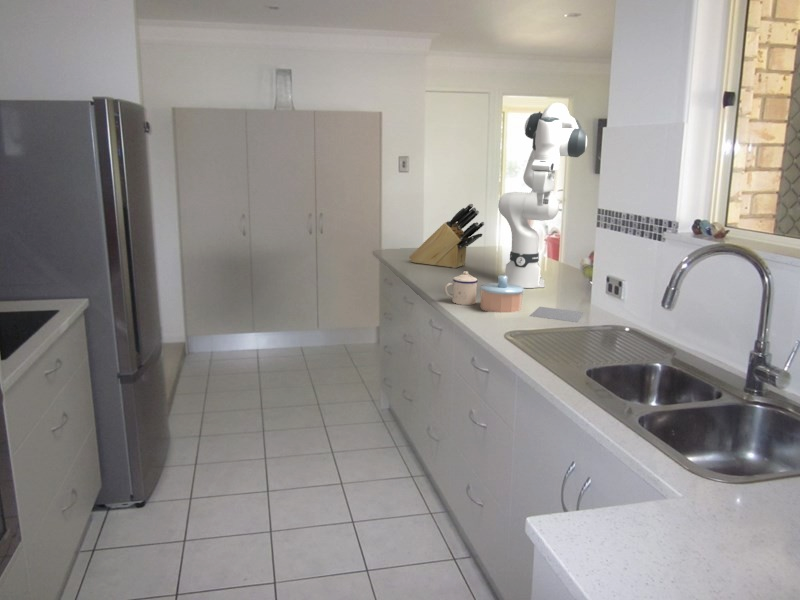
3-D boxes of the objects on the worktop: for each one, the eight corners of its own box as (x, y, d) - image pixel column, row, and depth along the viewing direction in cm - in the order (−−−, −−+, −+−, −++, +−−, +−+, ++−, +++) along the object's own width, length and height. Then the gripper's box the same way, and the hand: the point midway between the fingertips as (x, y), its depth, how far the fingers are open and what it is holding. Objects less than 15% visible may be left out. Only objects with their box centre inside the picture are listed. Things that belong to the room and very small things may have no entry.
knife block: (474, 271, 306) (478, 205, 300) (408, 263, 323) (410, 200, 316) (483, 267, 316) (487, 204, 309) (418, 260, 332) (421, 199, 326)
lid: (487, 284, 240) (488, 270, 239) (527, 288, 235) (528, 274, 233) (475, 291, 227) (476, 277, 226) (517, 296, 221) (518, 281, 220)
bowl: (487, 302, 241) (488, 284, 240) (524, 307, 236) (526, 288, 234) (475, 310, 229) (477, 291, 227) (514, 315, 223) (516, 295, 222)
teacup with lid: (473, 299, 245) (475, 269, 243) (478, 305, 237) (480, 274, 234) (442, 299, 244) (443, 269, 241) (446, 305, 235) (448, 273, 233)
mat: (539, 308, 235) (539, 306, 235) (584, 313, 229) (584, 312, 229) (529, 317, 221) (529, 315, 221) (576, 323, 215) (577, 322, 215)
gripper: (543, 164, 236) (540, 202, 239) (530, 164, 218) (527, 206, 221) (560, 165, 234) (557, 203, 237) (549, 165, 216) (545, 207, 219)
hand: (542, 204), depth 229 cm, fingers open, 8 cm apart
